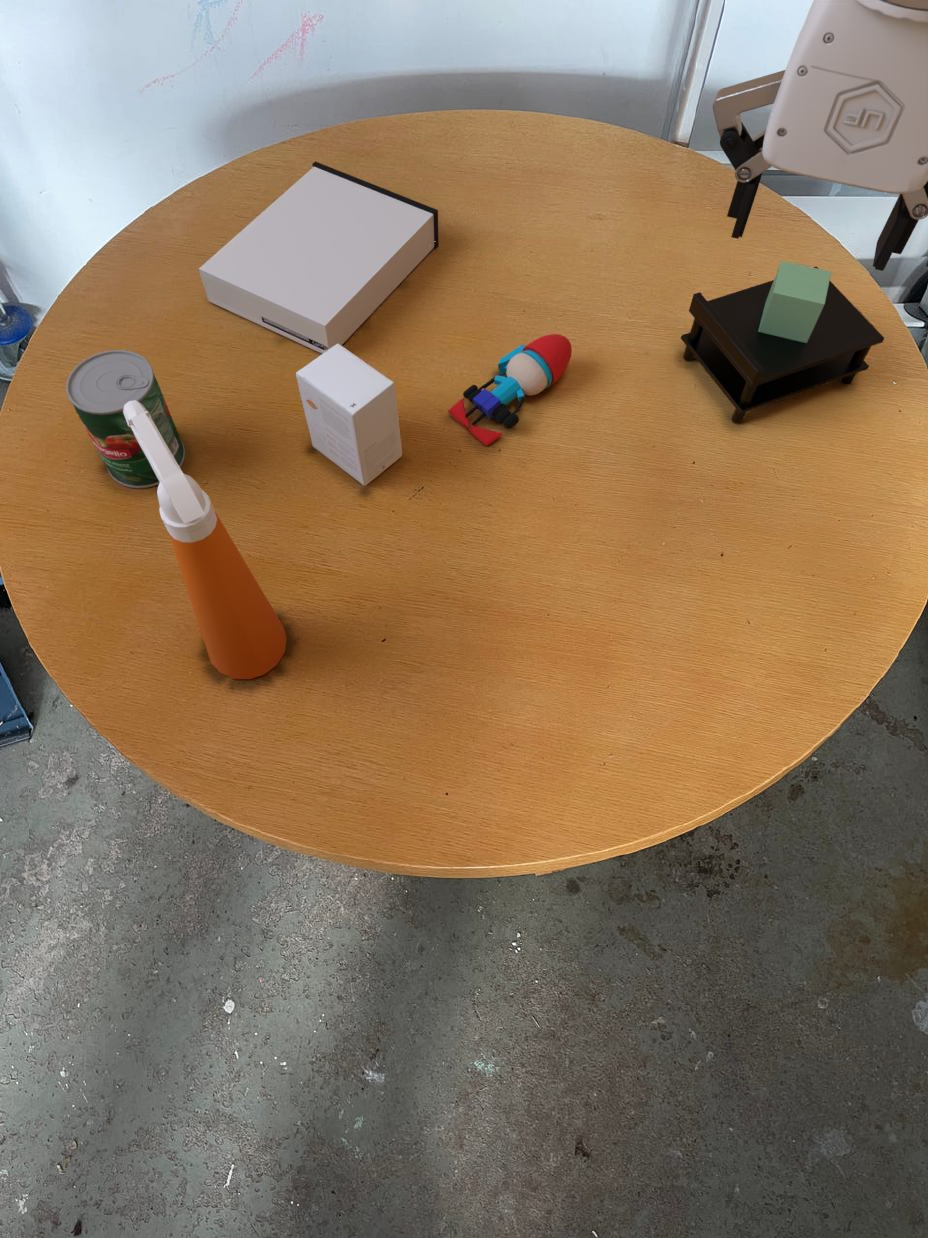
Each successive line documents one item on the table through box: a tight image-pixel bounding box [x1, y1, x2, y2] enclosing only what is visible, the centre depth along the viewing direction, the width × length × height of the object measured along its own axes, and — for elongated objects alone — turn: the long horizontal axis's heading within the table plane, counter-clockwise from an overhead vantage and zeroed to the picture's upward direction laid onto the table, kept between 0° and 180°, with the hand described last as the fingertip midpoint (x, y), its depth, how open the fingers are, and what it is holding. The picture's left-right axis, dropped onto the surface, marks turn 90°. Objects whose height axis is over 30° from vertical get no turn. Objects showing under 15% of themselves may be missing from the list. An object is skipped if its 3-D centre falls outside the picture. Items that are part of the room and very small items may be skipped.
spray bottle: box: [123, 400, 288, 680], centre depth 68 cm, size 7×11×26 cm, turn 33°
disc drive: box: [198, 161, 440, 355], centre depth 101 cm, size 18×22×5 cm
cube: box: [758, 260, 832, 343], centre depth 88 cm, size 5×5×5 cm
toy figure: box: [448, 333, 573, 447], centre depth 92 cm, size 8×5×15 cm
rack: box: [680, 266, 885, 425], centre depth 92 cm, size 16×12×8 cm
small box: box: [295, 344, 403, 487], centre depth 85 cm, size 8×6×10 cm
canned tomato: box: [65, 349, 186, 489], centre depth 84 cm, size 8×8×11 cm
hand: (808, 241), depth 60 cm, fingers open, 9 cm apart
